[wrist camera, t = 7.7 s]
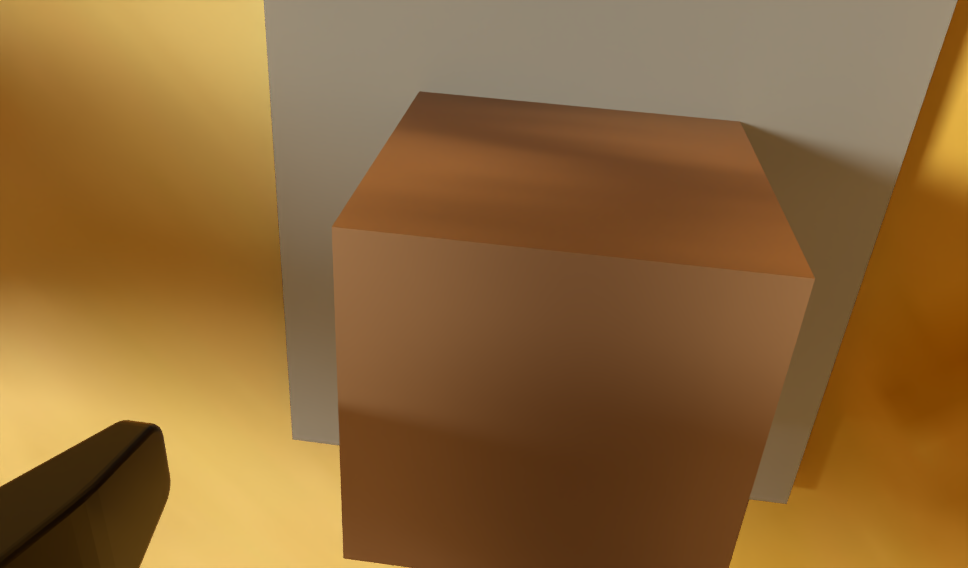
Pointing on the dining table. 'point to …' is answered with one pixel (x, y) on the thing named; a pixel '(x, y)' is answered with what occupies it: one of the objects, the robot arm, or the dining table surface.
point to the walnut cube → (558, 337)
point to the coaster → (619, 86)
